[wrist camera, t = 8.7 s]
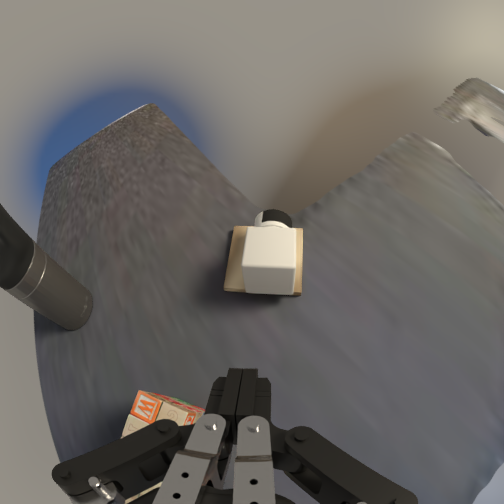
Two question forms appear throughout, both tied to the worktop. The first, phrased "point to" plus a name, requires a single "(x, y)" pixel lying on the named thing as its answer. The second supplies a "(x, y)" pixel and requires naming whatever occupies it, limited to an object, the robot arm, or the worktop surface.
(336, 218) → the worktop surface
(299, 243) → the maple board
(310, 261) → the worktop surface
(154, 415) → the stack of blocks
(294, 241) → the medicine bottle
